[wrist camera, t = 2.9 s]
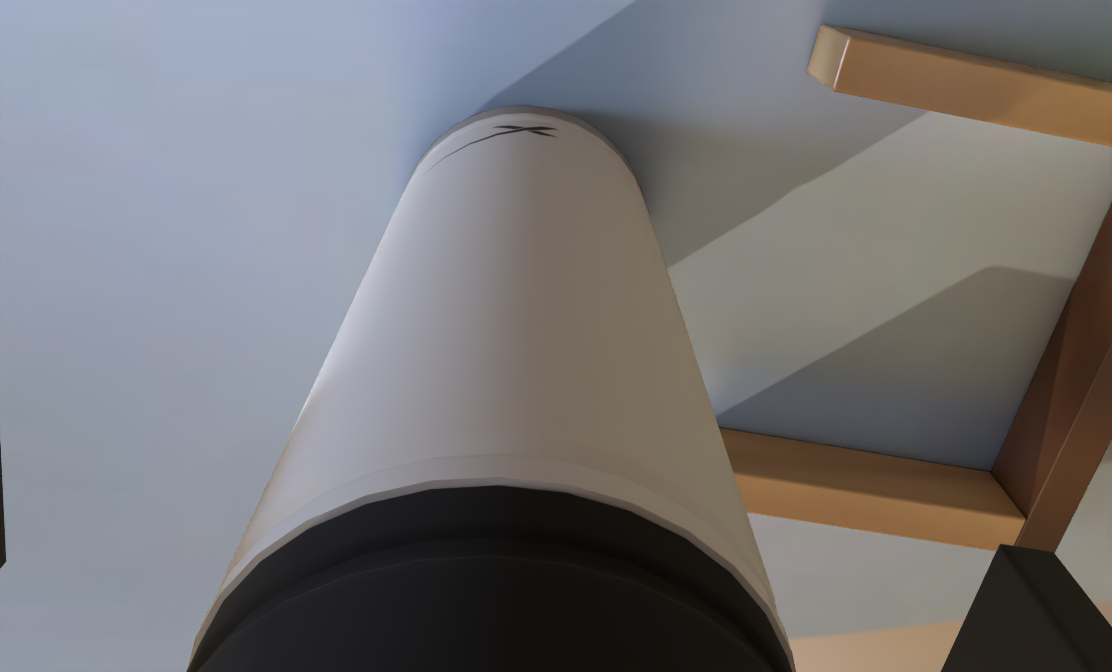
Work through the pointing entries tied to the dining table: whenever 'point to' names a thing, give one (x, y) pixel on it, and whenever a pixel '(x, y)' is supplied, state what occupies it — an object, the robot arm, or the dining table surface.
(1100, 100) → the frame
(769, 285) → the dining table surface
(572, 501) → the travel mug
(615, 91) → the dining table surface
